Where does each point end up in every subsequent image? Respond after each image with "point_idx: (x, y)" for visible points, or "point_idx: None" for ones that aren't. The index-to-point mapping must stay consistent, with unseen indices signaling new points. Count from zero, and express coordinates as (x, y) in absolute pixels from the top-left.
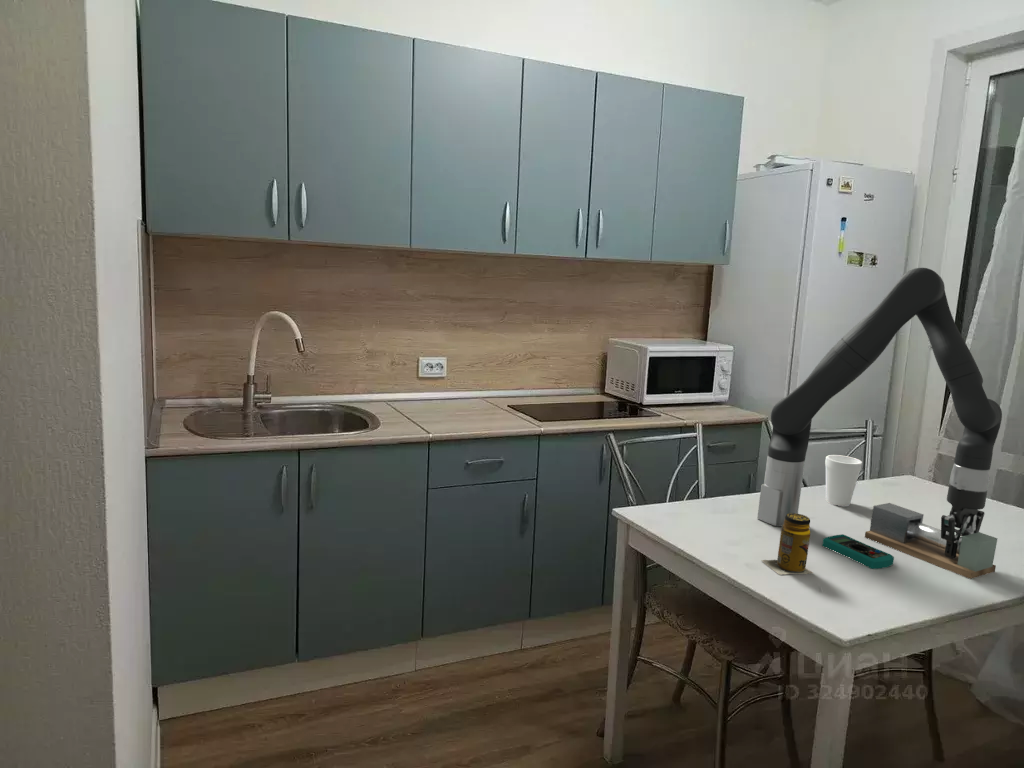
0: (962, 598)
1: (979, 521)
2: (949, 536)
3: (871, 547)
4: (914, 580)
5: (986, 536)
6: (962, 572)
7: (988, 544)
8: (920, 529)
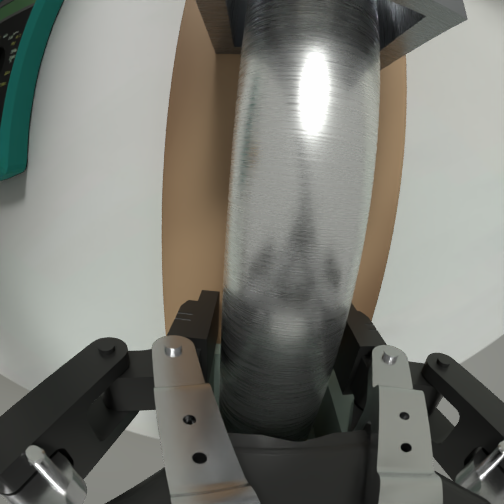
0: None
1: (448, 473)
2: (104, 400)
3: (10, 76)
4: (6, 278)
5: None
6: None
7: None
8: (249, 81)
